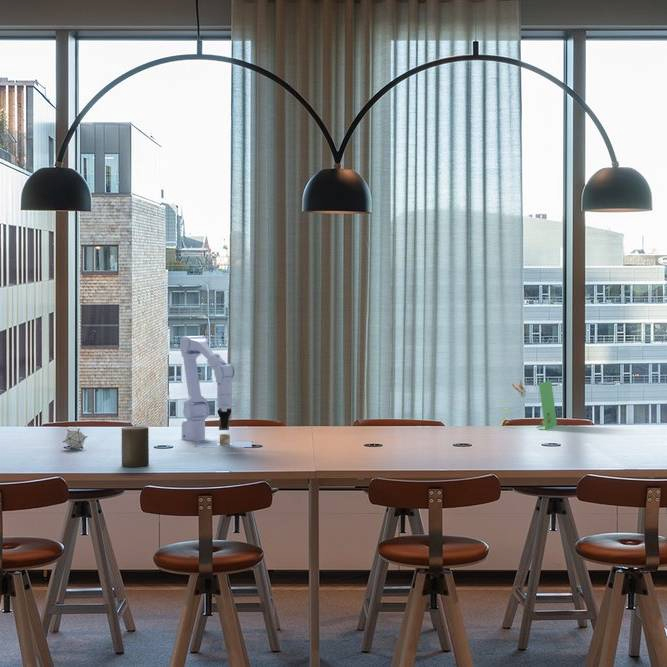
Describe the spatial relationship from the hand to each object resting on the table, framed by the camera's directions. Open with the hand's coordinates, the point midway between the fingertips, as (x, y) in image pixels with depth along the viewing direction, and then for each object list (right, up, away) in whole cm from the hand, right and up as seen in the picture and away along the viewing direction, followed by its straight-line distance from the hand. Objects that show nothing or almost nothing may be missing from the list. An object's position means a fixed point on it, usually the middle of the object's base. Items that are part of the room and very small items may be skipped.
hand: (224, 427), depth 432 cm
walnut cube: (0, -1, 0) cm, 1 cm away
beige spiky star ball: (-58, -8, -9) cm, 60 cm away
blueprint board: (0, -8, 0) cm, 8 cm away
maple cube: (0, -7, 0) cm, 7 cm away
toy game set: (+134, -6, +67) cm, 150 cm away
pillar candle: (-27, -10, -49) cm, 57 cm away
